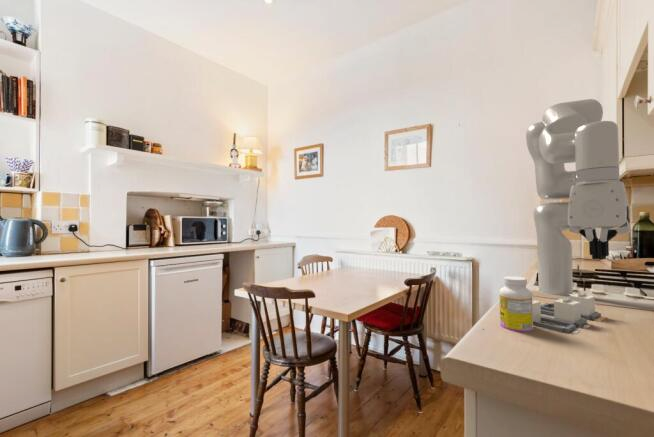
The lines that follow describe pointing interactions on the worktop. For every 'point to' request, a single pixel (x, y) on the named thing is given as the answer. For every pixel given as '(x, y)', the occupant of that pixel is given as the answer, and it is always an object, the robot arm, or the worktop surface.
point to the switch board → (568, 325)
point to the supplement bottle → (516, 305)
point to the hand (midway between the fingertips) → (599, 258)
